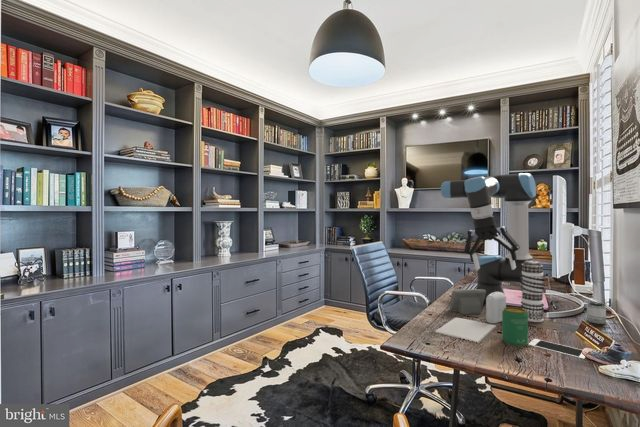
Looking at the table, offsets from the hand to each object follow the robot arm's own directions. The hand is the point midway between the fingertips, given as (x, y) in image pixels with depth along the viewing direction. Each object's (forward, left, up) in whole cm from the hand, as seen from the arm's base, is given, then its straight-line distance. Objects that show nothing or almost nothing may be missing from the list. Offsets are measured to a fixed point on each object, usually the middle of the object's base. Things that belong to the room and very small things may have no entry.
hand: (495, 268), depth 136 cm
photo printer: (-13, -3, -25) cm, 28 cm away
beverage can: (+8, +9, -25) cm, 27 cm away
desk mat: (+6, -9, -25) cm, 27 cm away
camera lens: (-39, +29, -25) cm, 55 cm away
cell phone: (+4, +21, -25) cm, 33 cm away
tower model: (-26, +8, -25) cm, 37 cm away
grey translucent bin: (-19, -17, -25) cm, 36 cm away
